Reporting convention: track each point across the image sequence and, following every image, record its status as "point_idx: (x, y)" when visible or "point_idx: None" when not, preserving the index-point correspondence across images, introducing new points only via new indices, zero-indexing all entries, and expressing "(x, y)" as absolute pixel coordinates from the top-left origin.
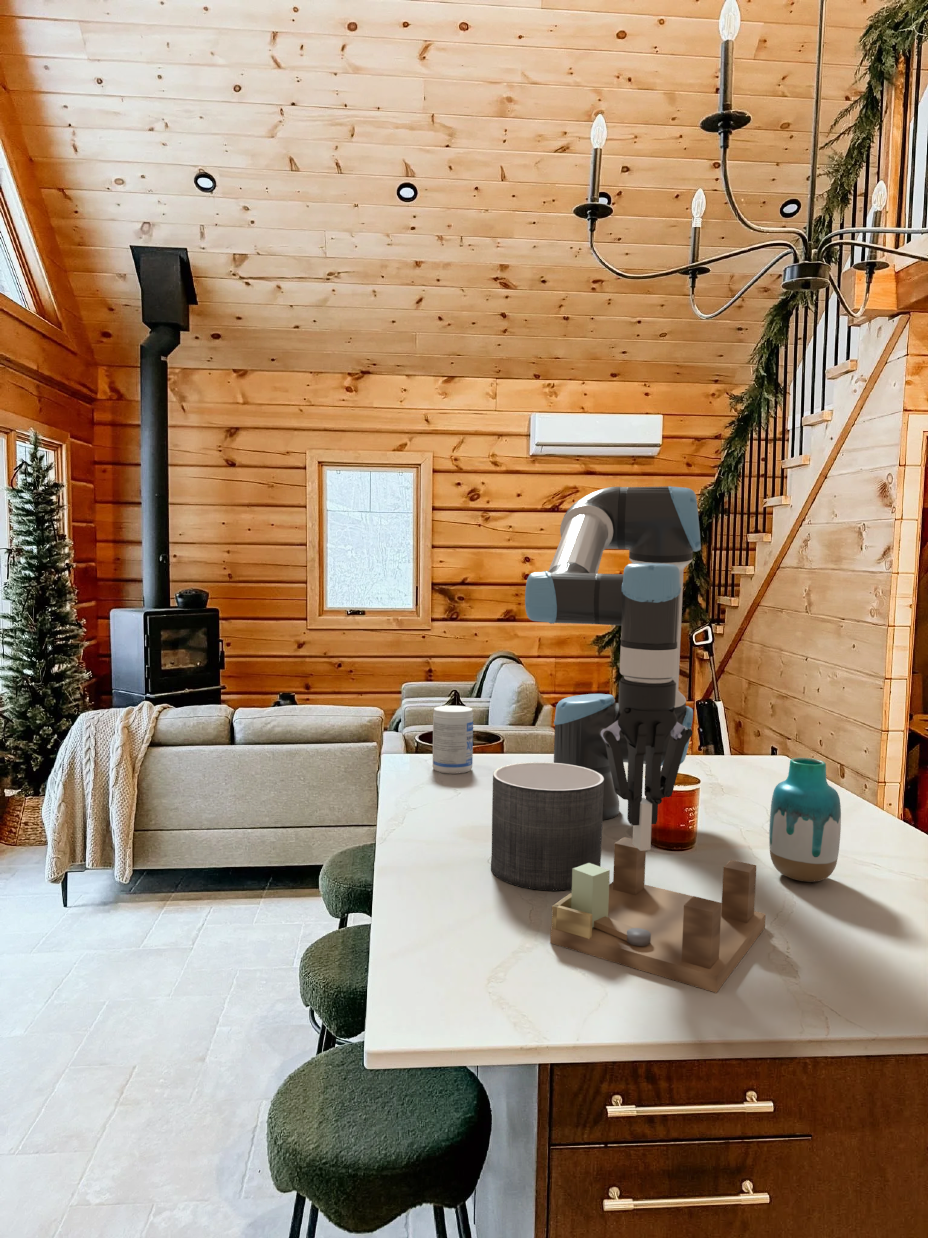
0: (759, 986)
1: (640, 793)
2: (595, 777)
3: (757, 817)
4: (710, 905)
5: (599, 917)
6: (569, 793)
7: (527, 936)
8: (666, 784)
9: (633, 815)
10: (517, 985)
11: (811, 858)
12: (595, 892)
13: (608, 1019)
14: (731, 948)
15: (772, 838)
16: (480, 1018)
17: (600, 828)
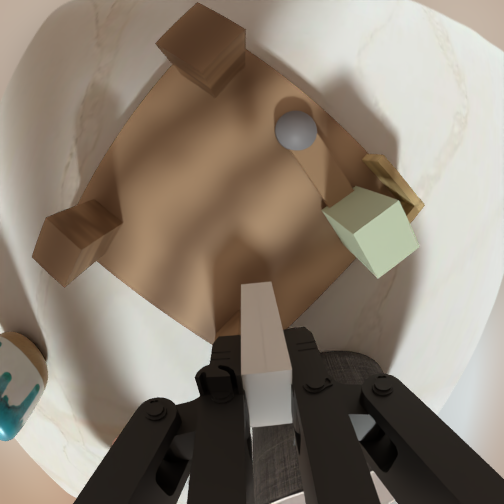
0: (146, 55)
1: (308, 408)
2: None
3: (72, 453)
4: (185, 29)
5: (343, 199)
6: None
7: (415, 219)
8: (157, 447)
9: (309, 348)
10: (445, 100)
11: (4, 342)
12: (374, 199)
13: (366, 11)
14: (147, 106)
15: (33, 387)
16: (470, 59)
17: (265, 439)
